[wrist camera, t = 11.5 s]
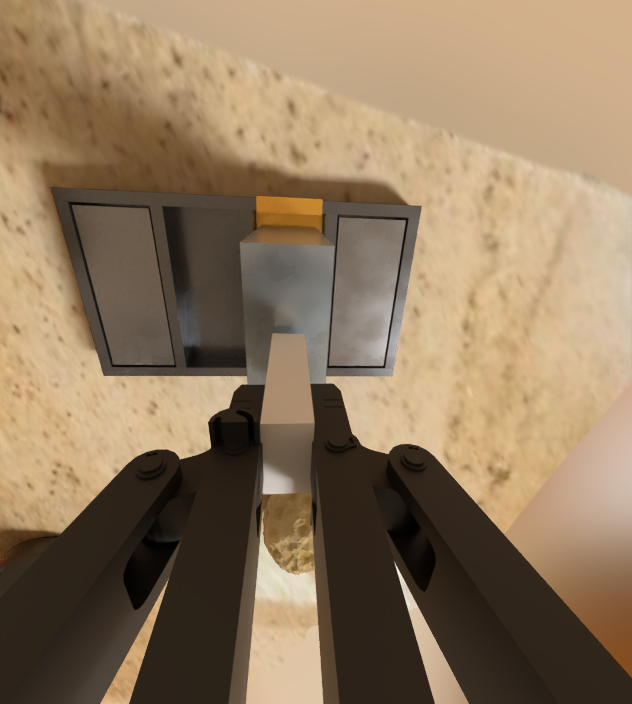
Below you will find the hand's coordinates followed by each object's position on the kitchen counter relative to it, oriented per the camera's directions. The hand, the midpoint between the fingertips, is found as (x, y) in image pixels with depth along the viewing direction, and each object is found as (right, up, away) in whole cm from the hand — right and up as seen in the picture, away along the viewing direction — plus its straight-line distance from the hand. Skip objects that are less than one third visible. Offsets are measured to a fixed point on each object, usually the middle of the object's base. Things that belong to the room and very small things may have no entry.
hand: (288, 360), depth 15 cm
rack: (-4, +6, +12) cm, 14 cm away
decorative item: (0, -17, +23) cm, 28 cm away
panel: (-1, +5, +11) cm, 13 cm away
